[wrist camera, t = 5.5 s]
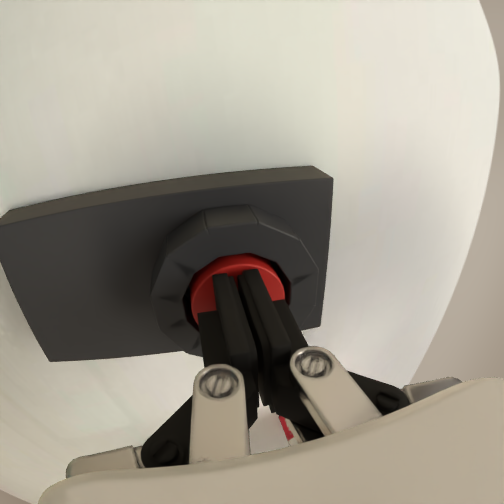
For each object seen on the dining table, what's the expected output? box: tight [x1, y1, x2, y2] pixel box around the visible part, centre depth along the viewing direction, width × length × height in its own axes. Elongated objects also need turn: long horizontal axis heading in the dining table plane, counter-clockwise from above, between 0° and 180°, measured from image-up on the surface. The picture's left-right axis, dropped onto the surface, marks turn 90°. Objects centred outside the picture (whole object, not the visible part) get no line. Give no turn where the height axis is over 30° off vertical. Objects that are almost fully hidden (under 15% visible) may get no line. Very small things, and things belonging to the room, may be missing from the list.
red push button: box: [189, 253, 285, 324], centre depth 13 cm, size 4×4×2 cm
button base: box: [0, 166, 333, 362], centre depth 13 cm, size 15×8×4 cm, turn 92°
